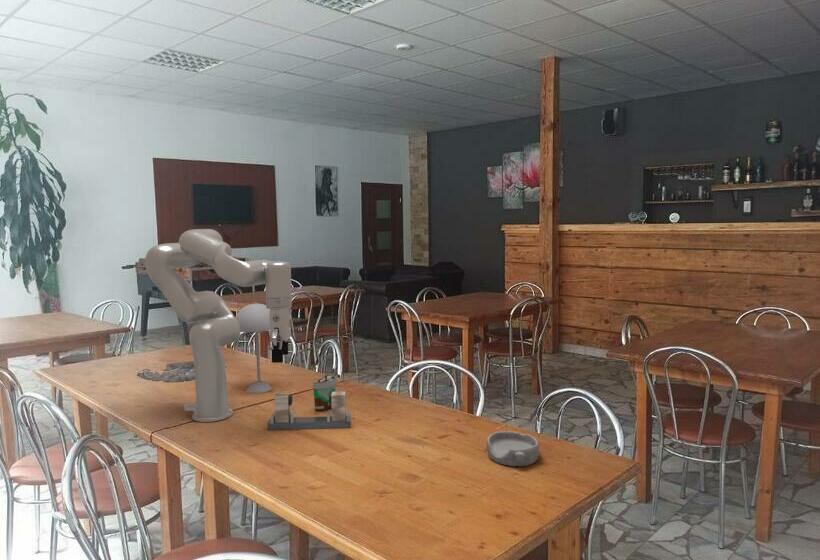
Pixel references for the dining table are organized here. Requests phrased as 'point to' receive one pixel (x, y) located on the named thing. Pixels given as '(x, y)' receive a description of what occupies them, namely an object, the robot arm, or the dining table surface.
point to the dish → (512, 448)
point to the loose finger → (282, 407)
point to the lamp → (255, 321)
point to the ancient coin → (180, 373)
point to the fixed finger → (338, 405)
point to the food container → (324, 392)
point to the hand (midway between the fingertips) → (280, 358)
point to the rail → (309, 422)
